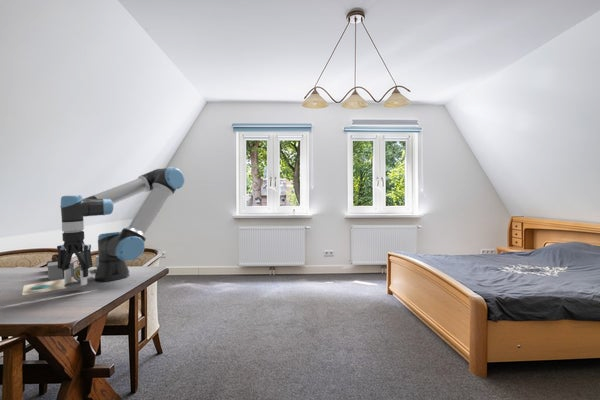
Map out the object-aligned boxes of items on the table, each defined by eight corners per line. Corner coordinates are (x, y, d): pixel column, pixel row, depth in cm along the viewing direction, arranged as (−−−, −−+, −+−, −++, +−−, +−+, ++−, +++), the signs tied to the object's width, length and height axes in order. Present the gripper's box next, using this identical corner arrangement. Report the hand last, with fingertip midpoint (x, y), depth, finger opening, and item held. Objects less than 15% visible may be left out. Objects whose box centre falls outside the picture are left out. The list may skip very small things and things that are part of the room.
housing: (72, 274, 162) (72, 259, 162) (74, 278, 155) (73, 262, 155) (48, 278, 156) (47, 262, 156) (48, 282, 148) (48, 266, 148)
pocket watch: (62, 289, 126) (61, 265, 125) (66, 284, 133) (65, 261, 133) (86, 285, 130) (85, 262, 129) (89, 280, 137) (88, 258, 137)
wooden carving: (42, 271, 170) (42, 253, 170) (52, 269, 175) (51, 252, 174) (61, 274, 164) (60, 255, 164) (70, 272, 168) (70, 254, 168)
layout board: (82, 278, 155) (82, 276, 155) (86, 286, 140) (86, 284, 140) (23, 287, 140) (23, 285, 140) (22, 297, 126) (22, 295, 126)
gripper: (101, 229, 133) (103, 281, 134) (59, 230, 135) (62, 281, 136) (88, 232, 126) (91, 287, 127) (43, 232, 127) (47, 287, 128)
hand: (76, 284), depth 131 cm, fingers closed on pocket watch, 7 cm apart
